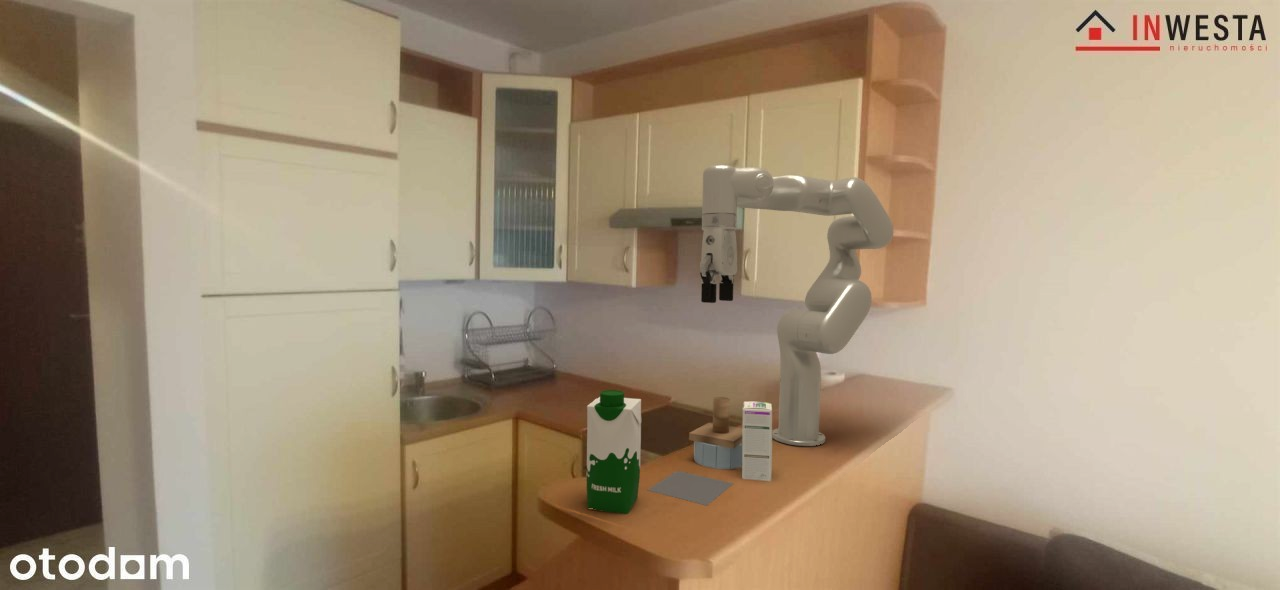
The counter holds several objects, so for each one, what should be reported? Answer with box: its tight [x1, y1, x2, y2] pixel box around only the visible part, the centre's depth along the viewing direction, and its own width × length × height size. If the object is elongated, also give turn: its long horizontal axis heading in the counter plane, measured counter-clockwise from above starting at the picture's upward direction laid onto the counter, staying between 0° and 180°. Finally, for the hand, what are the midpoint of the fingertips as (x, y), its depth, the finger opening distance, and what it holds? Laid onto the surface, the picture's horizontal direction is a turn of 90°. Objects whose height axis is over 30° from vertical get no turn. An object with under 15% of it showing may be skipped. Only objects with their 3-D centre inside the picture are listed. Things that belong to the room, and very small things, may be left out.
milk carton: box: [586, 389, 642, 515], centre depth 96 cm, size 9×9×20 cm
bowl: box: [693, 441, 742, 470], centre depth 119 cm, size 11×11×5 cm
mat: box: [647, 470, 734, 507], centre depth 104 cm, size 12×12×1 cm
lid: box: [688, 396, 742, 449], centre depth 119 cm, size 10×10×8 cm
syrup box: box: [741, 400, 773, 482], centre depth 110 cm, size 6×6×14 cm
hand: (717, 301), depth 123 cm, fingers open, 9 cm apart
